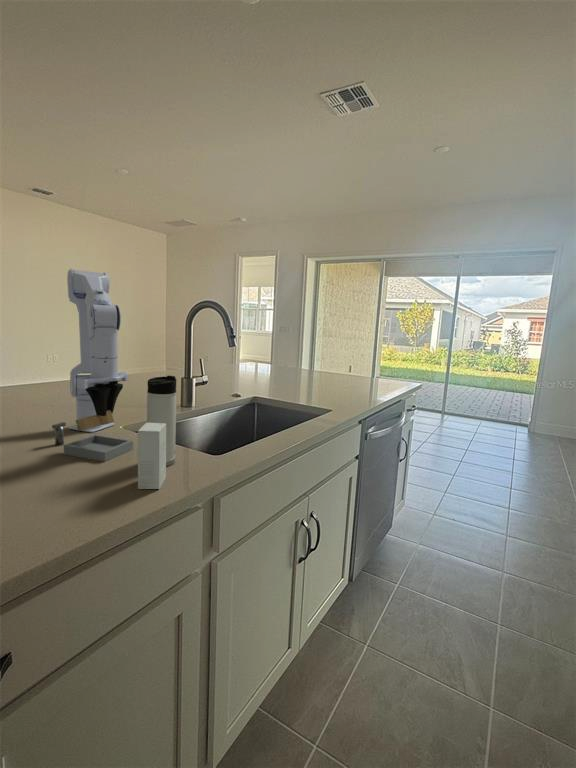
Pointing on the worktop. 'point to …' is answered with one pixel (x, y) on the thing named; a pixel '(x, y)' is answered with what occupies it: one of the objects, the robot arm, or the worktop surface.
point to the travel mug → (163, 410)
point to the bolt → (59, 433)
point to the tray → (98, 447)
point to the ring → (94, 421)
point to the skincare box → (151, 455)
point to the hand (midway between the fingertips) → (104, 414)
